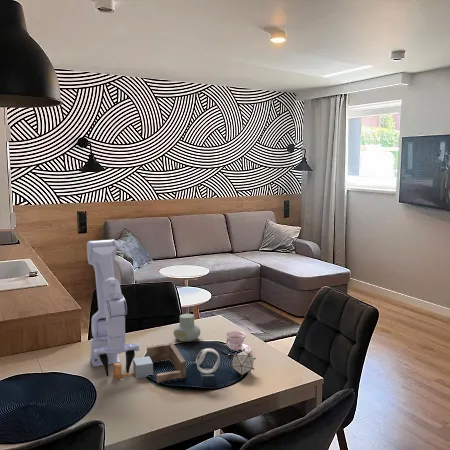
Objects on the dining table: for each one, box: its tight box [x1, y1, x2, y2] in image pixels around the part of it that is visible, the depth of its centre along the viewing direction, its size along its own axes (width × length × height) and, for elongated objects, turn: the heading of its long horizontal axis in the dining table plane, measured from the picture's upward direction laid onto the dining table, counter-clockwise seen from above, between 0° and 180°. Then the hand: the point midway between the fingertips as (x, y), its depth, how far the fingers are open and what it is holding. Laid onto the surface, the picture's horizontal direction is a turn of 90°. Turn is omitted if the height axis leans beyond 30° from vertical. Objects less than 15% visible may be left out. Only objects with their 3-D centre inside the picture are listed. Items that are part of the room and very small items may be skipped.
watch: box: [195, 347, 221, 386], centre depth 154 cm, size 6×8×11 cm
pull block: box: [112, 355, 154, 380], centre depth 159 cm, size 13×6×4 cm, turn 111°
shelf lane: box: [146, 342, 187, 384], centre depth 163 cm, size 10×17×6 cm, turn 21°
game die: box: [229, 349, 256, 378], centre depth 160 cm, size 9×8×10 cm
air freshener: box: [173, 313, 201, 343], centre depth 191 cm, size 11×8×10 cm
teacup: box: [225, 330, 252, 357], centre depth 180 cm, size 12×12×6 cm
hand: (117, 373), depth 157 cm, fingers open, 6 cm apart
